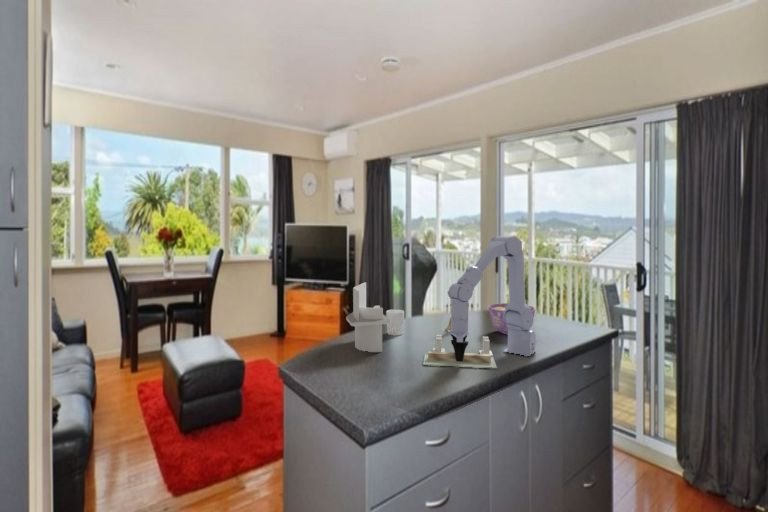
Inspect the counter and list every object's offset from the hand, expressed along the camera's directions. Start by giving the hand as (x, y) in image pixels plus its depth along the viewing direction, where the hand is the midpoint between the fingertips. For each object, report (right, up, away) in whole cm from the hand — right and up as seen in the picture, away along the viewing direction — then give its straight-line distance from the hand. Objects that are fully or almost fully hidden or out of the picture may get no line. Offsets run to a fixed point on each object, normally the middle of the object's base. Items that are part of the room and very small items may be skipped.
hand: (459, 357), depth 143 cm
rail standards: (+3, -1, +10) cm, 10 cm away
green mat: (0, -2, 0) cm, 2 cm away
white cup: (-21, +1, +39) cm, 45 cm away
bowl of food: (+30, +1, +41) cm, 51 cm away
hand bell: (+6, +1, +46) cm, 46 cm away
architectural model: (-33, -1, +21) cm, 39 cm away
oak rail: (0, -1, 0) cm, 1 cm away
